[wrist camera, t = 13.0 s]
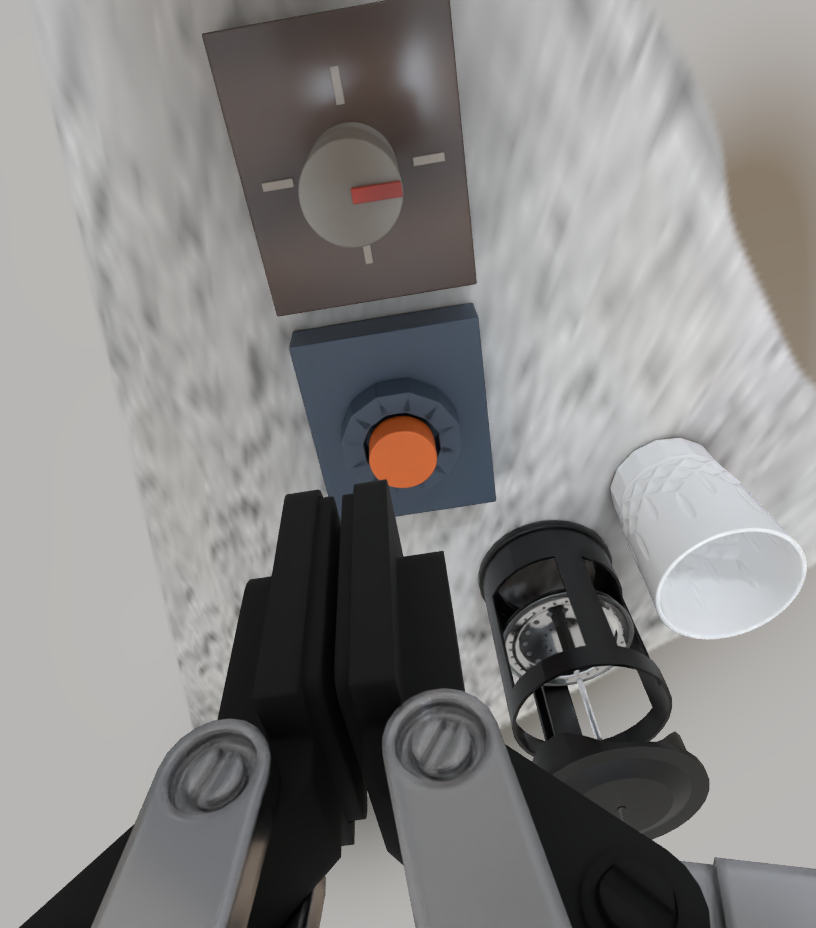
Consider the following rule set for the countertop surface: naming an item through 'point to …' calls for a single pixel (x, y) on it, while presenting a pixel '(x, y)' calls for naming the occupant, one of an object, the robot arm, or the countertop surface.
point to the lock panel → (339, 101)
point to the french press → (580, 659)
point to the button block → (399, 401)
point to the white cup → (704, 542)
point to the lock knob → (351, 186)
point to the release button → (402, 451)
